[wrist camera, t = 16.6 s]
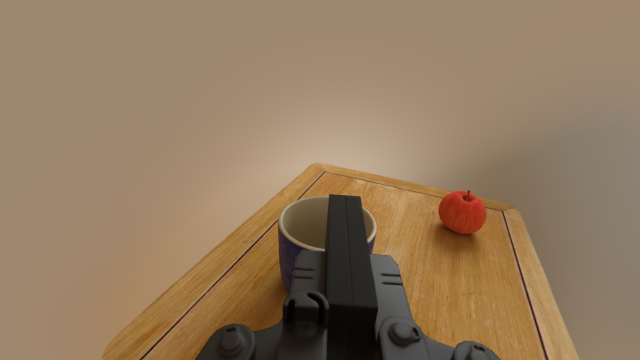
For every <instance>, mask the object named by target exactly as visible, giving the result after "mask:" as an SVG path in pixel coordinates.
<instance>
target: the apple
mask: <svg viewBox="0 0 640 360" xmlns="http://www.w3.org/2000/svg"><path fill="white" fill-rule="evenodd" d="M439 216H440V219H441V221H442V222H443V223H444V225H445V226H446V227H447V228H449V229H451V230H453V231H454V232H456V233H459V234H470V233H474V232H476V231H478V230H479V229H480V228H481V227H482V226H483V224H484V222H485V220H486V208H485V205H484V203H483V202H482V201H481V200H480V199H479V198H478V197H476V196H475V195H473V194H471V193H470V191H468V192H465V191H456V192H451V193H449V194H448V195H446V196H445V197H444V198H443V199H442V201H441V203H440V205H439Z"/></svg>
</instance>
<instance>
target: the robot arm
mask: <svg viewBox="0 0 640 360" xmlns="http://www.w3.org/2000/svg"><path fill="white" fill-rule="evenodd" d="M195 360H501V359H500V358H499V357H498V356H497V355H496V354H495V353H494V352H493V351H492V350H490V349H489V348H487V347H486V346H484V345H482V344H480V343H477V342H474V341H463V342H461V343H458V344H457V346H456V348H453V347H450V346H448V345H445V344H442V343H440V342H437V341H435V340H433V339H431V338H429V337H428V336H426V335H425V334H423V332H422V330H421V328H420V327H419V326H418V325H417V324H416V323H415V322H414V321H413V318H412V315H411V311H410V308H409V304H408V300H407V297H406V293H405V289H404V286H403V282H402V278H401V275H400V271H399V268H398V265H397V263H396V262H395V261H394V260H393V258H392V257H391V256H390V255H377V254H370V253H369V246H368V240H367V234H366V228H365V222H364V216H363V210H362V203H361V197H359V196H346V195H333V194H329V203H328V214H327V226H326V237H325V251H314V250H302V251H301V252H300V253H299V254H298V256H297V257H296V259H295V265H294V271H293V278H292V283H291V289H290V295H289V296H288V297H287V298H286V299H285V302H284V304H283V319H282V320H281V321H280V322H279V323H277V324H276V325H274V326H272V327H270V328H267V329H263V330H259V331H254V332H252V330H251V329H250V328H248V327H247V326H245V325H242V324H230V325H226V326H224V327H222V328H220V329H218V330H217V331H216V332H215V333H214V334H213V335H212V336H211V337H210V338H209V340H208V341H207V343H206V344H205V346H204V347H203V348H202V350H201V351H200V353H199V354H198V356H197V357H196V359H195Z"/></svg>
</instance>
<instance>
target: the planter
mask: <svg viewBox="0 0 640 360" xmlns="http://www.w3.org/2000/svg"><path fill="white" fill-rule="evenodd" d="M328 203H329V196H313V197H307V198H303V199H299V200H296V201H294V202H292V203H290V204H289V205H287V206H286V207H285V208H284V209H283V210H282V211H281V213H280V215H279V218H278V237H279V259H280V270H281V276H282V280H283V283H284V286H285V288H286V290H287V291H288V293H289V294H290V289H291V283H292V278H293V271H294V265H295V259H296V257H297V256H298V254H299V253H300V252H301V251H302V250H314V251H325V237H326V226H327V214H328ZM362 210H363V216H364V222H365V228H366V234H367V240H368V246H369V253H370V254H372V251H373V246H374V241H375V237H376V233H377V224H376V221H375V219H374V217H373V216H372V215H371V213H370V212H369V211H367V210H366V209H365V208H363V207H362Z"/></svg>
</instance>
